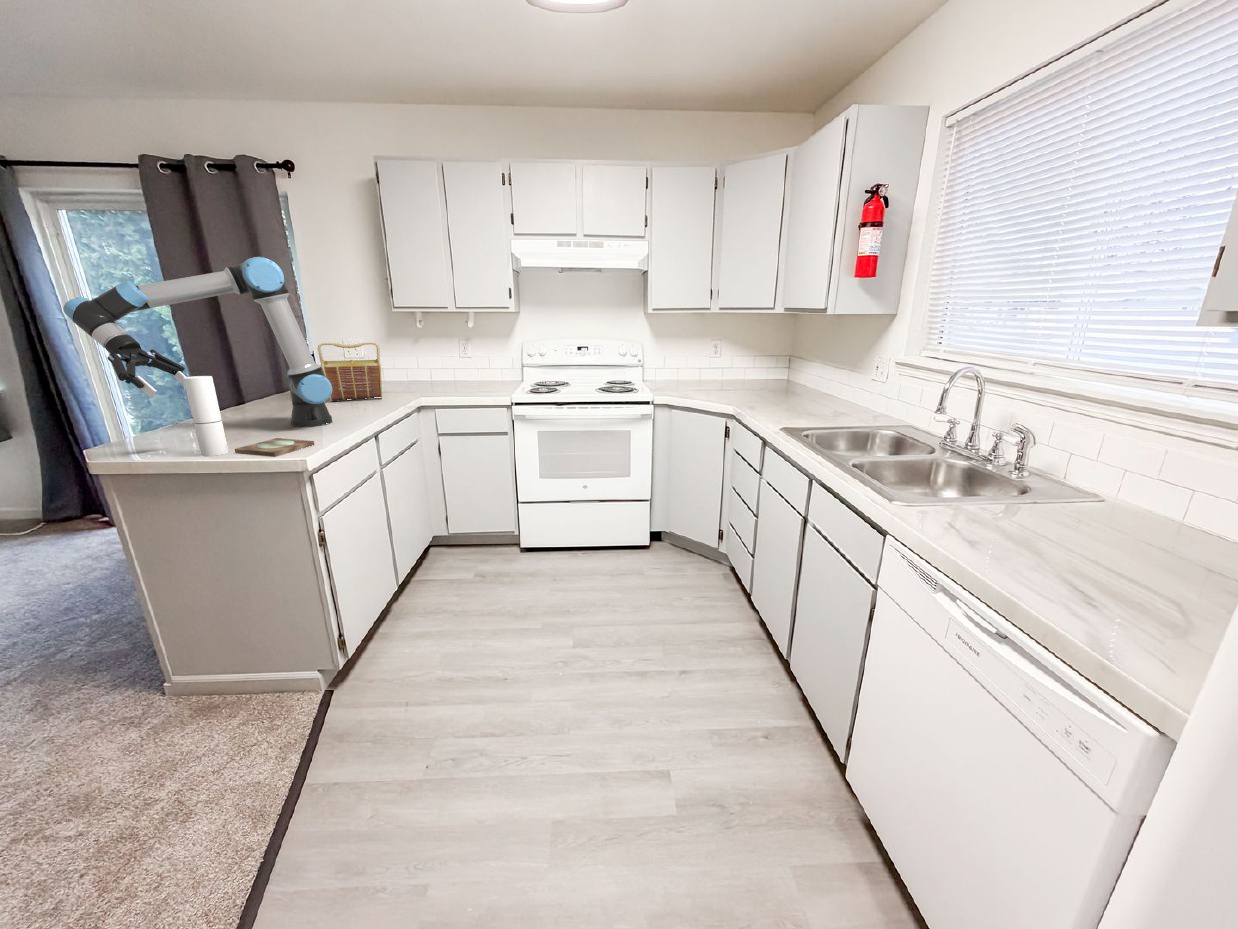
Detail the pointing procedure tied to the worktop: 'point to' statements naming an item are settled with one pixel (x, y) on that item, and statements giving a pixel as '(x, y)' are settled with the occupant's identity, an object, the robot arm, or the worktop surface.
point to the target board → (274, 447)
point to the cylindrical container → (206, 415)
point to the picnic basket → (353, 376)
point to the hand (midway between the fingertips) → (174, 391)
